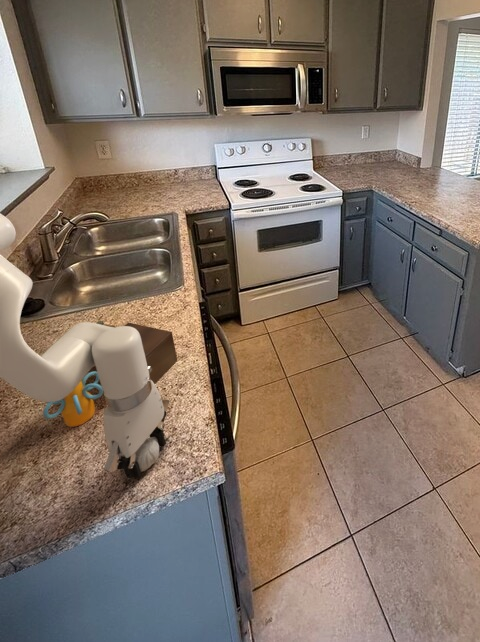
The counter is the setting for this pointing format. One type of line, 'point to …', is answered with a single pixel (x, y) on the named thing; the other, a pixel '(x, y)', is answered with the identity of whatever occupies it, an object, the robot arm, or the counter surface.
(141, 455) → the garlic
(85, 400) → the yellow vase with loops
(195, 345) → the counter surface
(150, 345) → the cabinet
